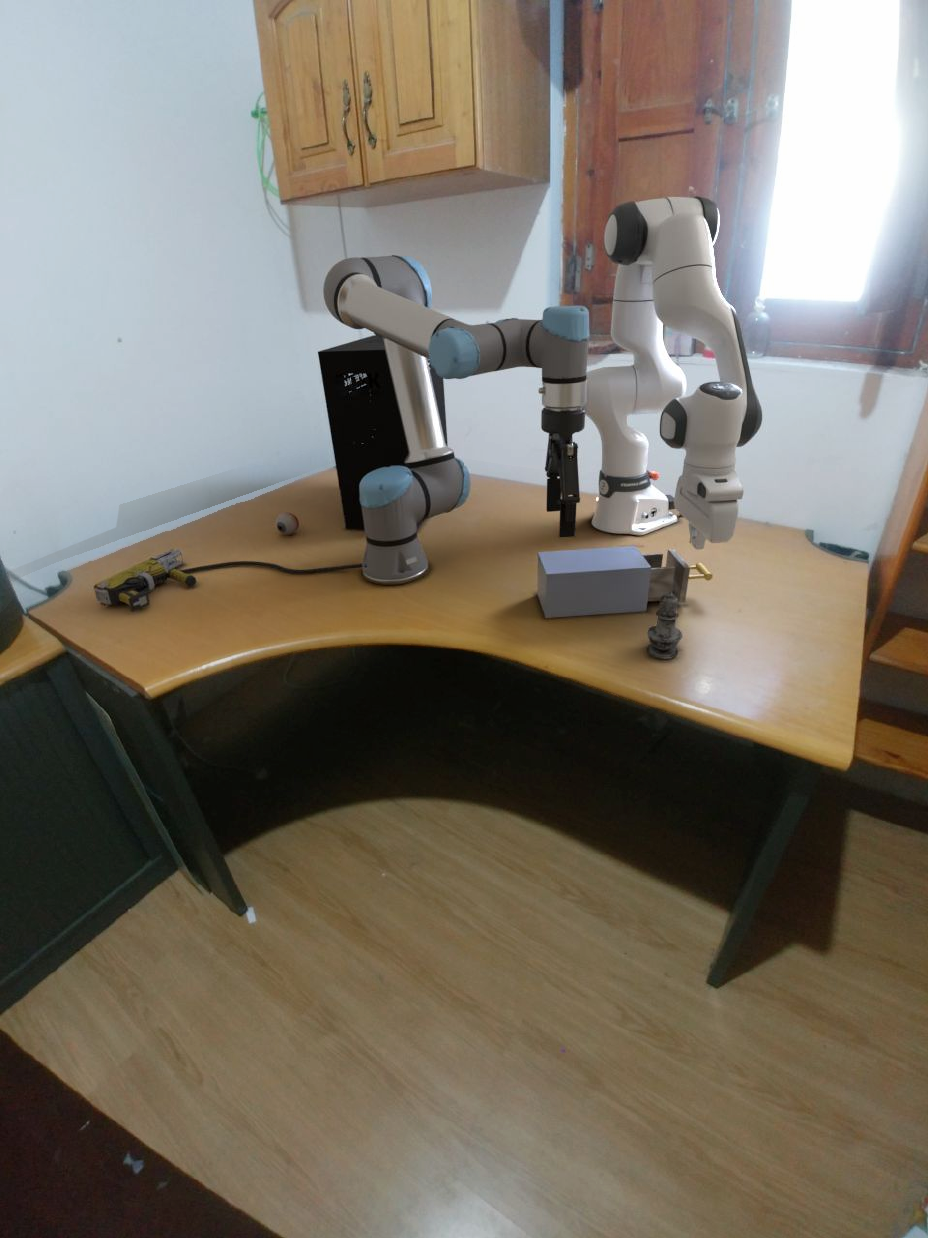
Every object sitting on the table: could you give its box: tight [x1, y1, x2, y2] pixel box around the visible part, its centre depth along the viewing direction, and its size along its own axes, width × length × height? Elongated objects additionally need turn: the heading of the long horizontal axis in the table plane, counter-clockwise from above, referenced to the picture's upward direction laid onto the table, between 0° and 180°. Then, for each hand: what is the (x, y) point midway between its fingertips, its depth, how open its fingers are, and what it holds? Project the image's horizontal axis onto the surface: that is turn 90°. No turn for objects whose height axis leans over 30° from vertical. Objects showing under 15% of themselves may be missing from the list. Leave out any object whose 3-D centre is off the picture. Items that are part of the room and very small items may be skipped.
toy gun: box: [93, 548, 197, 612], centre depth 139 cm, size 5×24×15 cm
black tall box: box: [317, 334, 449, 530], centre depth 169 cm, size 38×20×45 cm, turn 167°
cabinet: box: [536, 545, 651, 619], centre depth 121 cm, size 20×10×10 cm, turn 93°
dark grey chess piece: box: [646, 590, 683, 660], centre depth 104 cm, size 6×6×12 cm
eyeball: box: [275, 511, 300, 536], centre depth 163 cm, size 6×6×6 cm
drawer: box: [641, 548, 713, 604], centre depth 121 cm, size 24×9×8 cm, turn 93°
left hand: (559, 523), depth 114 cm, fingers open, 13 cm apart
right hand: (696, 546), depth 118 cm, fingers closed
